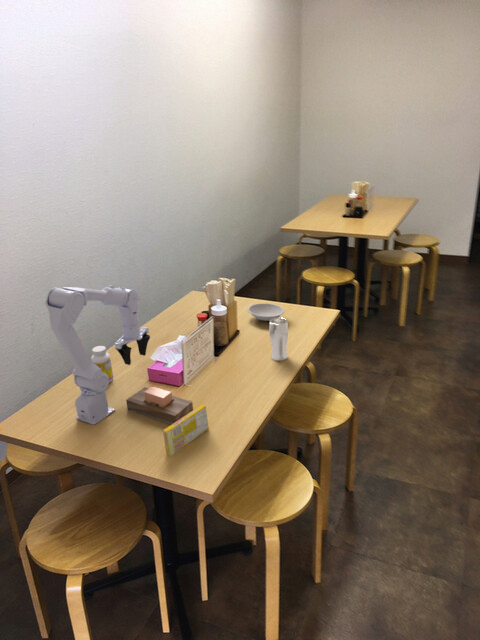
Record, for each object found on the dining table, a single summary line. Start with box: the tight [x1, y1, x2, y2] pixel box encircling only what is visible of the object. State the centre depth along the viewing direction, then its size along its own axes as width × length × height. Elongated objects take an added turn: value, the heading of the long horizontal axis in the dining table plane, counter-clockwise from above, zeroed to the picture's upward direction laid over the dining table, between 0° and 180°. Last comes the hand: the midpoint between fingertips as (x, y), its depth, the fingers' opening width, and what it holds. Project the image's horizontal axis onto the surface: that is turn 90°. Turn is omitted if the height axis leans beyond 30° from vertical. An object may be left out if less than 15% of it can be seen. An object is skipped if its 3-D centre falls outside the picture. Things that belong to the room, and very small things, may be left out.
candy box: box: [162, 404, 210, 457], centre depth 156 cm, size 16×2×8 cm, turn 141°
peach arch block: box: [144, 386, 173, 408], centre depth 173 cm, size 4×8×6 cm, turn 58°
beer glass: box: [268, 317, 289, 362], centre depth 201 cm, size 7×7×15 cm
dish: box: [247, 302, 285, 322], centre depth 236 cm, size 18×14×5 cm
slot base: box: [125, 387, 194, 425], centre depth 173 cm, size 9×20×4 cm, turn 58°
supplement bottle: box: [90, 345, 114, 383], centre depth 192 cm, size 7×7×13 cm
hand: (135, 359), depth 185 cm, fingers open, 7 cm apart
